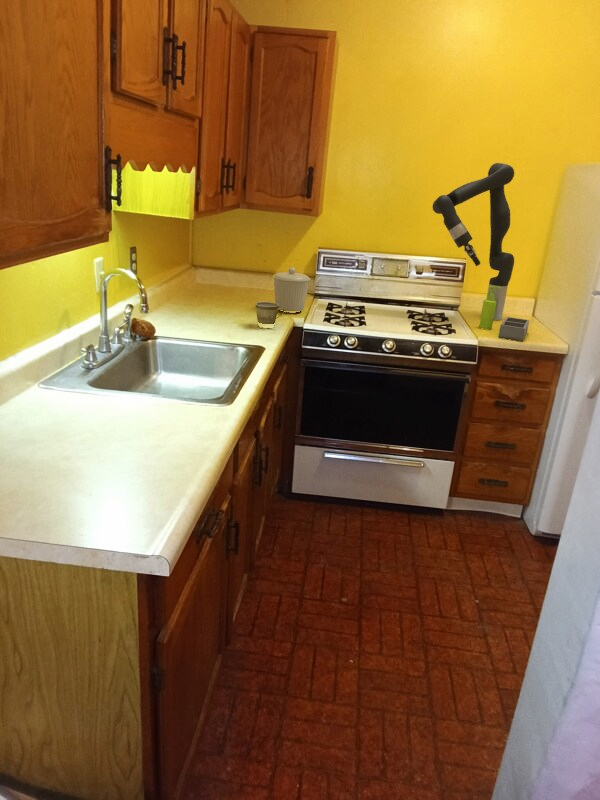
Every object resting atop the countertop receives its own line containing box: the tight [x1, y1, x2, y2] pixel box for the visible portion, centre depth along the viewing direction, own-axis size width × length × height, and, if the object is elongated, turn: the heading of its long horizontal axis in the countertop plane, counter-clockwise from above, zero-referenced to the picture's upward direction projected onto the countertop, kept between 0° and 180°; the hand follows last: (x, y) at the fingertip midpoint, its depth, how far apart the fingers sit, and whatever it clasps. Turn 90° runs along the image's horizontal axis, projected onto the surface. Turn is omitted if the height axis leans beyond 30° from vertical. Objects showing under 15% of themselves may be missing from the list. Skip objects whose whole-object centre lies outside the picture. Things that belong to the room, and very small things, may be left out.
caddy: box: [497, 316, 530, 343], centre depth 283 cm, size 21×10×6 cm, turn 155°
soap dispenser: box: [478, 285, 501, 330], centre depth 291 cm, size 6×7×20 cm
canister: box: [272, 267, 312, 312], centre depth 296 cm, size 18×18×21 cm
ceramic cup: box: [255, 301, 285, 324], centre depth 265 cm, size 13×10×10 cm
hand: (478, 264), depth 288 cm, fingers open, 8 cm apart
